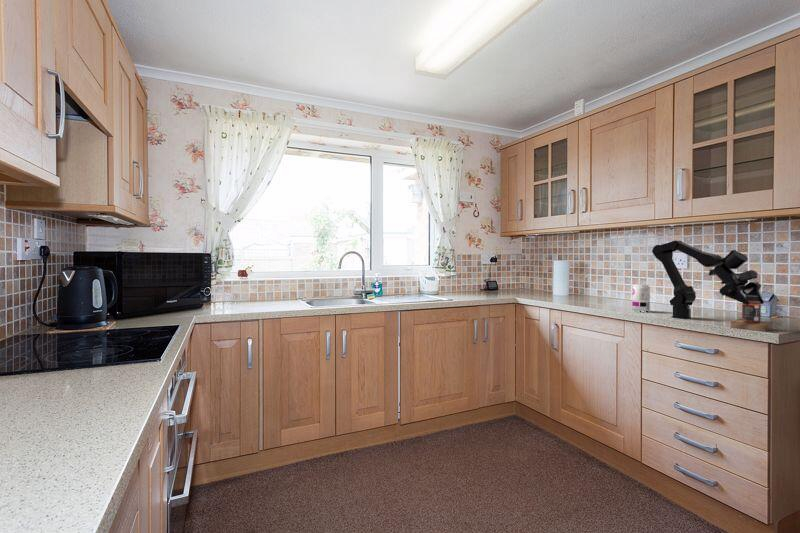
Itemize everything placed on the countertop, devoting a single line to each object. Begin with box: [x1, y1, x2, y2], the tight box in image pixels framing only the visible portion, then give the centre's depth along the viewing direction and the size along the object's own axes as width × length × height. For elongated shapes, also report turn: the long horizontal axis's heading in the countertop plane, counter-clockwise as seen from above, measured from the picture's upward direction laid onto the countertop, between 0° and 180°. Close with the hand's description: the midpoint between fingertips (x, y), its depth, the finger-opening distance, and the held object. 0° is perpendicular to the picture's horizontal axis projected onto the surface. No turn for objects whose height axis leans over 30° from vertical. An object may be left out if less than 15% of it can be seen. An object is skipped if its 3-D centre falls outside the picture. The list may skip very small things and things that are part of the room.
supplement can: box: [631, 283, 651, 313], centre depth 220 cm, size 8×8×15 cm
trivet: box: [730, 318, 773, 332], centre depth 169 cm, size 11×11×3 cm
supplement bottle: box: [741, 294, 762, 323], centre depth 169 cm, size 6×6×11 cm
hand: (755, 303), depth 167 cm, fingers open, 9 cm apart
